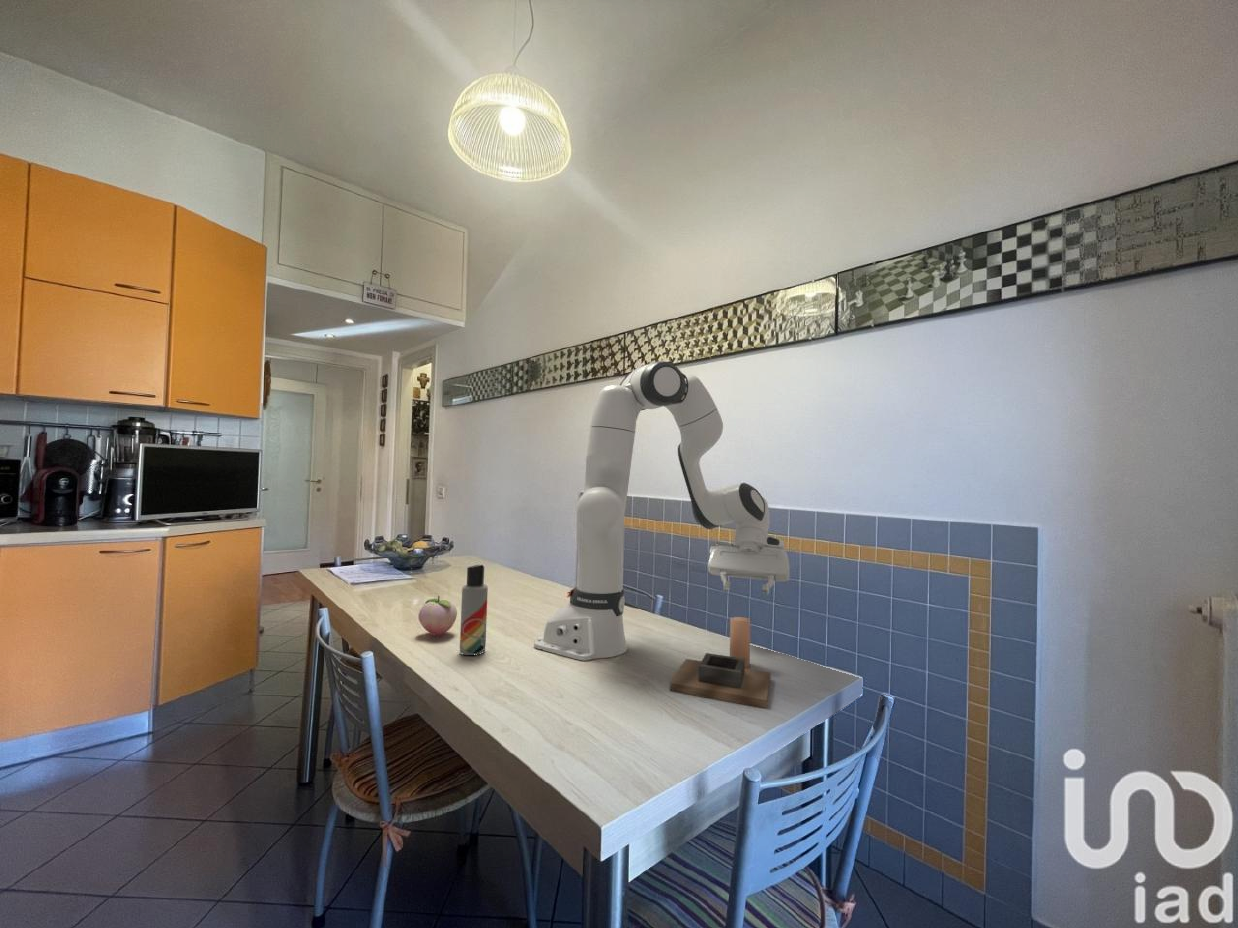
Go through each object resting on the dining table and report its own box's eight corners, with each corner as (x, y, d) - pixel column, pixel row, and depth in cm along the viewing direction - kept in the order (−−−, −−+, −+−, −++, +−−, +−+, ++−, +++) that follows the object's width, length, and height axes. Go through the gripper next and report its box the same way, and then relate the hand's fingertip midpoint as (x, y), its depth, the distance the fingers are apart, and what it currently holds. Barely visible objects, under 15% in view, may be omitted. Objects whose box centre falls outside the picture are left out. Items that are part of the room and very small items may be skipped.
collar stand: (669, 690, 95) (670, 667, 95) (685, 665, 108) (686, 645, 108) (766, 708, 89) (766, 683, 89) (770, 679, 102) (770, 657, 102)
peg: (728, 666, 109) (729, 620, 109) (730, 659, 113) (731, 615, 113) (748, 669, 107) (749, 623, 107) (750, 662, 111) (751, 618, 112)
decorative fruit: (463, 633, 125) (465, 594, 126) (441, 643, 118) (443, 601, 118) (434, 628, 129) (436, 590, 129) (411, 637, 121) (413, 596, 121)
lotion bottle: (477, 657, 109) (481, 567, 110) (454, 655, 110) (458, 566, 111) (489, 649, 115) (492, 563, 115) (467, 646, 116) (470, 562, 116)
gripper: (709, 535, 131) (702, 578, 122) (790, 541, 124) (788, 587, 115) (712, 550, 135) (704, 593, 126) (790, 556, 128) (788, 602, 119)
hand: (745, 590), depth 120 cm, fingers open, 8 cm apart
